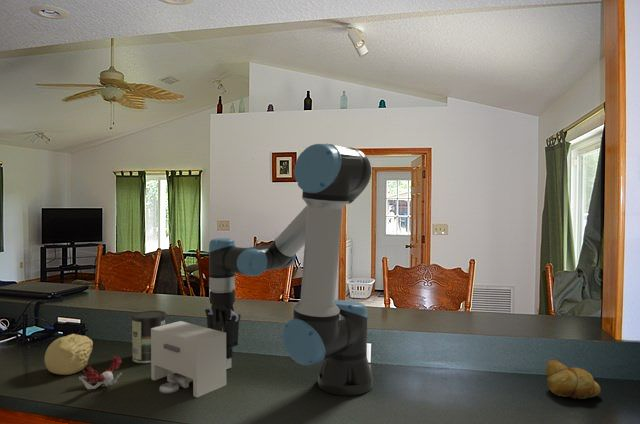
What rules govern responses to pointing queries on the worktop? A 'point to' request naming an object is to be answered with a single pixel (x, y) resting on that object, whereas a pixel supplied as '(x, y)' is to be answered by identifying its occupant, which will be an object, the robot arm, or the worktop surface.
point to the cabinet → (189, 355)
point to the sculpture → (68, 354)
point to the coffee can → (144, 333)
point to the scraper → (179, 379)
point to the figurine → (104, 377)
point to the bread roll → (570, 381)
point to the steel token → (169, 387)
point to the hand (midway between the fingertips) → (223, 366)
